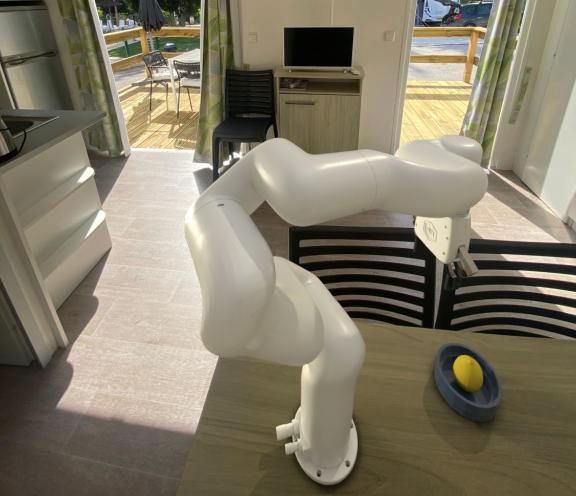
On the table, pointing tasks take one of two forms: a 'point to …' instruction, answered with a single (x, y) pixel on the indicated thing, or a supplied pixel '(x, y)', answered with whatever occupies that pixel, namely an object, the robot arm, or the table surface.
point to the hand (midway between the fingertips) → (434, 268)
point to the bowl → (465, 403)
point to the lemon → (468, 373)
